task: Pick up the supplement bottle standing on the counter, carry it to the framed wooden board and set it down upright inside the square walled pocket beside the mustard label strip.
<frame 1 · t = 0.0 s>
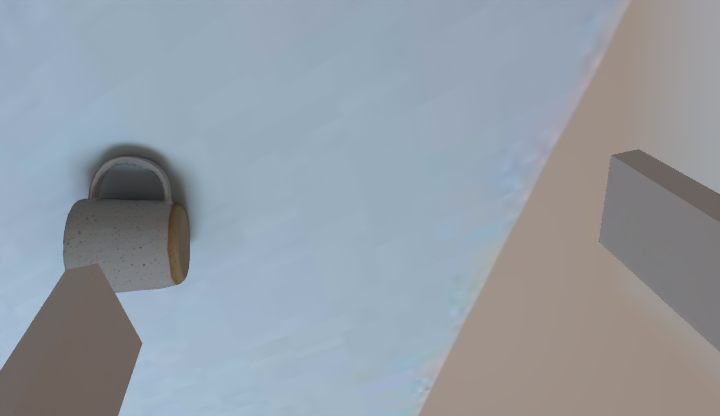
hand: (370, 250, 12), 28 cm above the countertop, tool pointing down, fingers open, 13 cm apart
ceramic mug: (139, 207, 41), on the countertop
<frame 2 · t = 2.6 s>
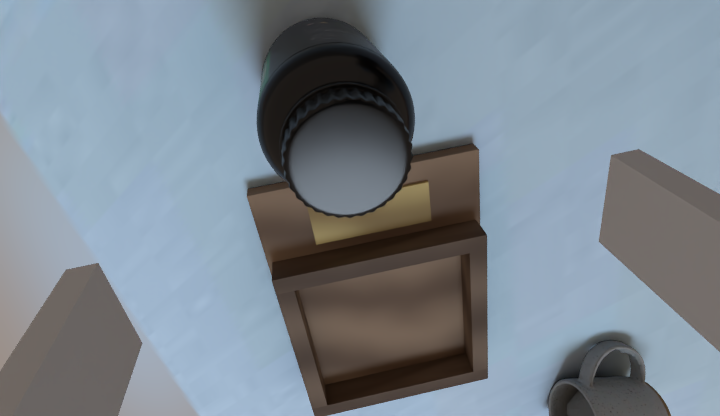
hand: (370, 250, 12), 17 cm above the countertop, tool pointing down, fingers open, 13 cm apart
ceramic mug: (587, 375, 45), on the countertop
supplement bottle: (321, 78, 27), on the countertop
framed wooden board: (380, 283, 35), on the countertop
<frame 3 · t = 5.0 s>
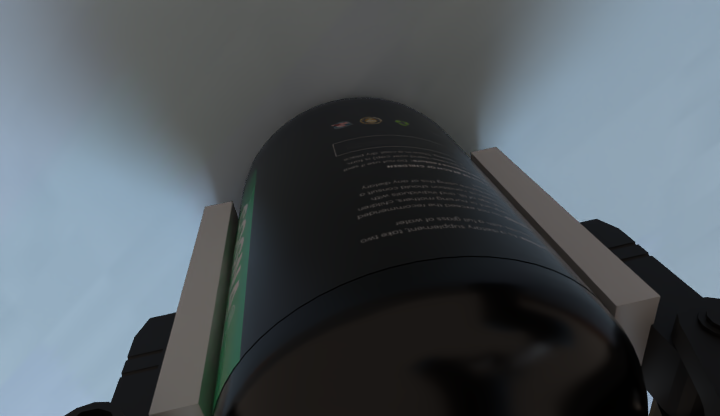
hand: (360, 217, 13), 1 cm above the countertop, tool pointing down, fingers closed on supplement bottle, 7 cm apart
supplement bottle: (354, 197, 15), on the countertop, touching gripper
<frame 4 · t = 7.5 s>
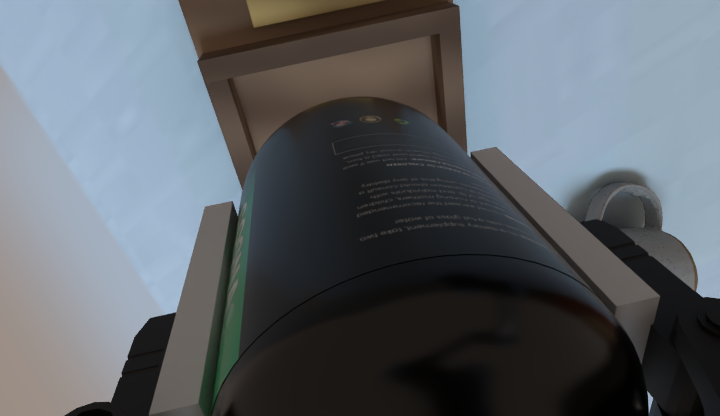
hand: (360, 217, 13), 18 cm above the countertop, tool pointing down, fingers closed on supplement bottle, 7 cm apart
ceramic mug: (594, 233, 39), on the countertop
supplement bottle: (354, 196, 15), point 16 cm above the countertop, touching gripper
framed wooden board: (340, 100, 30), on the countertop
when the fingers open (3 cm above the countertop, at t = 10.4 s): supplement bottle drops 1 cm, resting on framed wooden board.
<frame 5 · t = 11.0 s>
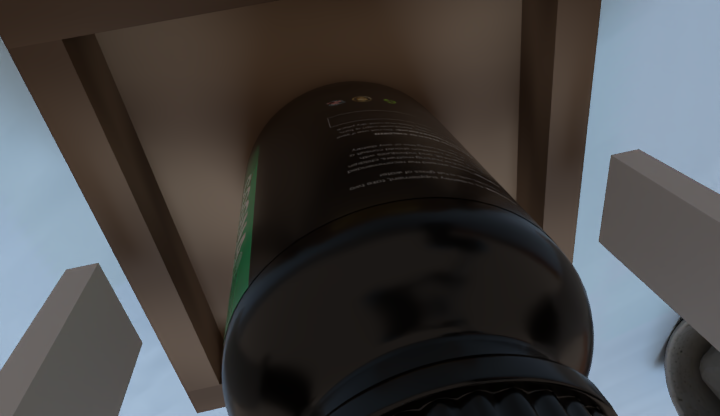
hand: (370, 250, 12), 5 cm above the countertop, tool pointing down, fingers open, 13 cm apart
supplement bottle: (348, 175, 16), point 1 cm above the countertop, touching framed wooden board
framed wooden board: (332, 100, 15), on the countertop
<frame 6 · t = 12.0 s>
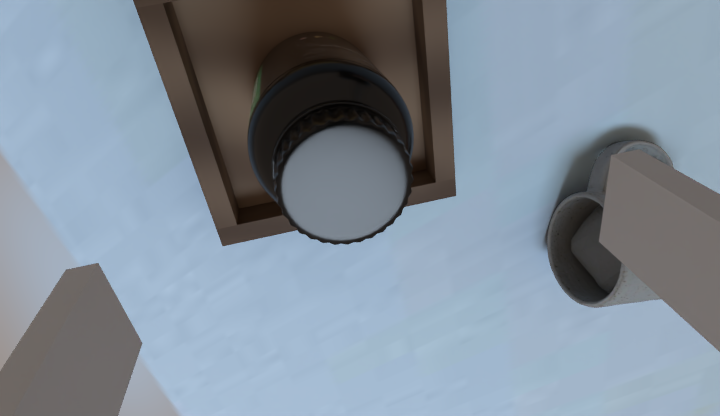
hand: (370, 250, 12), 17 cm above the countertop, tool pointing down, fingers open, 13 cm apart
ceramic mug: (597, 203, 35), on the countertop
supplement bottle: (315, 93, 26), point 1 cm above the countertop, touching framed wooden board
framed wooden board: (305, 46, 26), on the countertop
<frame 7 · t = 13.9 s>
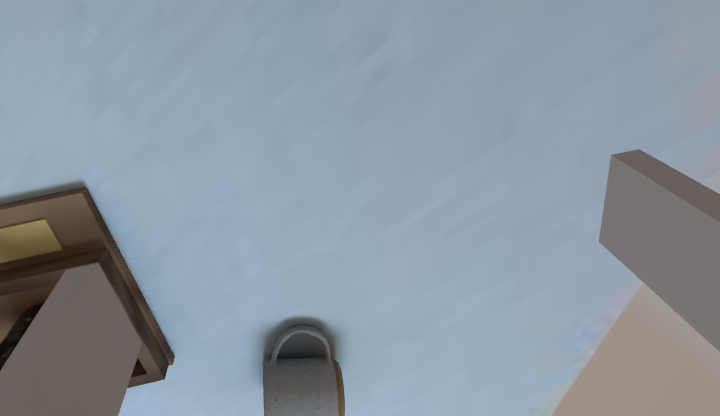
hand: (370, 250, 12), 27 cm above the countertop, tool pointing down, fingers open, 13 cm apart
ceramic mug: (297, 357, 51), on the countertop
supplement bottle: (62, 326, 42), point 1 cm above the countertop, touching framed wooden board
framed wooden board: (52, 300, 42), on the countertop
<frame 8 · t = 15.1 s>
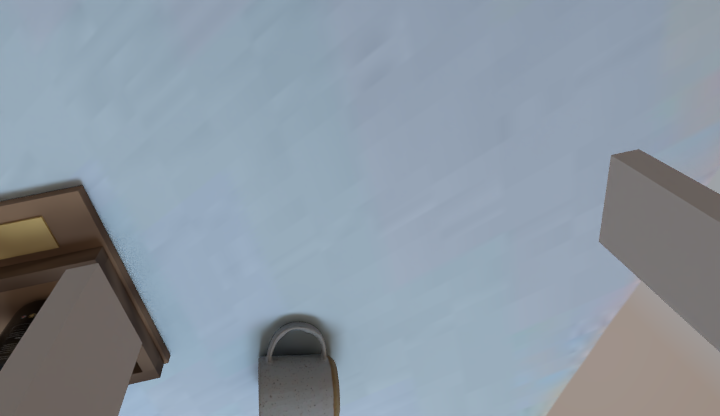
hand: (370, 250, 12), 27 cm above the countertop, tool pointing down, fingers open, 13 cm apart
ceramic mug: (293, 354, 51), on the countertop
supplement bottle: (58, 323, 42), point 1 cm above the countertop, touching framed wooden board
framed wooden board: (48, 298, 42), on the countertop
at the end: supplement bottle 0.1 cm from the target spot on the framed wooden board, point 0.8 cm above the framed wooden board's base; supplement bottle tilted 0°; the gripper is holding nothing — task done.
